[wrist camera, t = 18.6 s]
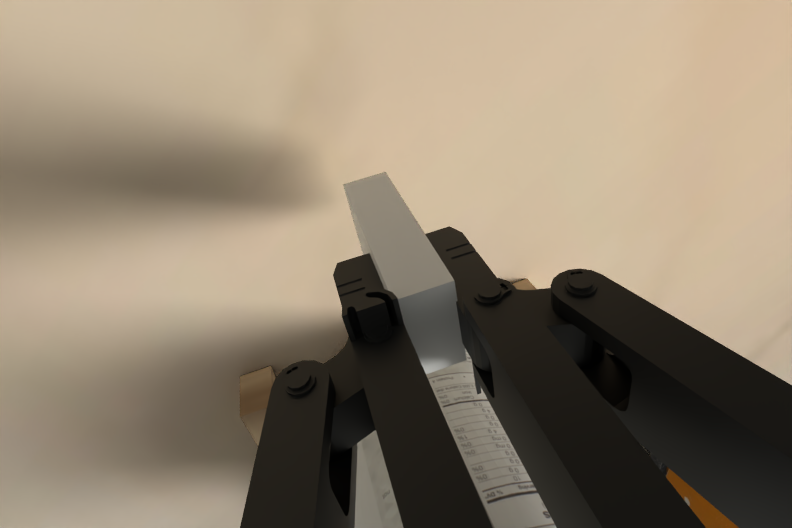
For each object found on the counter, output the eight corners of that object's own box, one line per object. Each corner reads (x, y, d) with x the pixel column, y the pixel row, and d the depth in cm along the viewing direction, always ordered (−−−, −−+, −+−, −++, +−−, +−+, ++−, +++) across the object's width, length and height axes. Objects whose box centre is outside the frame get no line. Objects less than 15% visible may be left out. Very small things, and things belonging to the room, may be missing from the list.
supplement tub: (445, 443, 30) (580, 760, 18) (297, 437, 27) (346, 833, 15) (517, 321, 26) (750, 624, 14) (356, 292, 23) (491, 672, 11)
